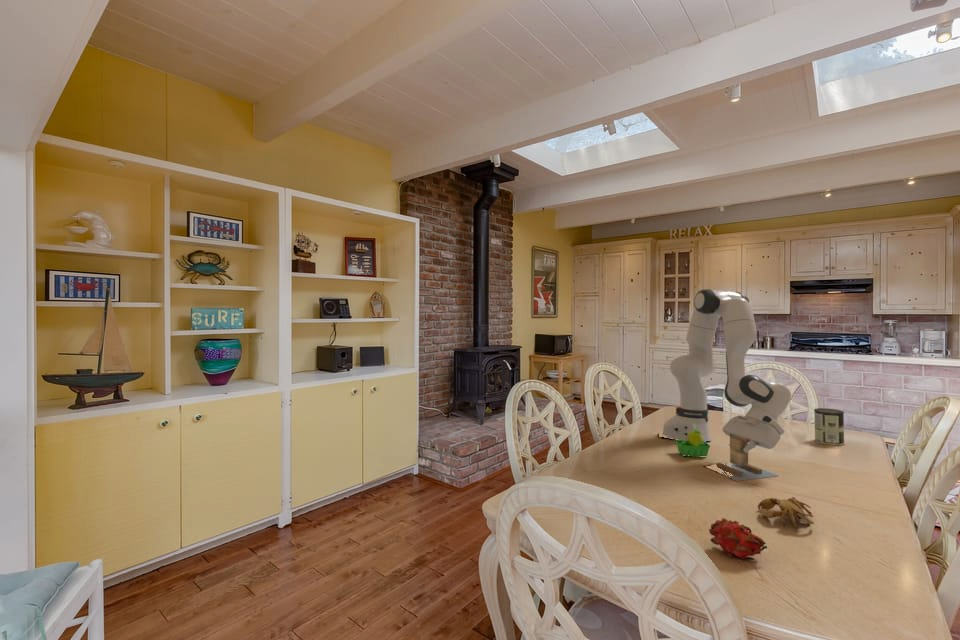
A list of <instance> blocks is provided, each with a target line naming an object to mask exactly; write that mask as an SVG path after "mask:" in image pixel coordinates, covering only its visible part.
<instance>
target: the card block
mask: <svg viewBox="0 0 960 640" xmlns="http://www.w3.org/2000/svg"><path fill="white" fill-rule="evenodd" d="M729 444H730V446H729V456H730V457H729V458H730V460H729V462H730V463H732V464H735V465H737V466H745V465H748V464H749V452H748V453H745V452H743V451H742V450H741V448H742V447H743V446H746V445H748V444H749V443H748V439H747V437H743V436H740V435H731V436H729Z"/></svg>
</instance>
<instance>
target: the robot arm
mask: <svg viewBox="0 0 960 640" xmlns="http://www.w3.org/2000/svg"><path fill="white" fill-rule="evenodd" d="M693 306H694V309H693V311H692V315H691V318H690V321H689V325H688V330H687V334H686V338H685V341H686V342H687V344H688V354H685V355H684V354H683V355H680V356H677V357H676V358H673V359H672V361H671V362H670V365H669V368H670V370H669V371H670V372H671V374H672V375H673V376H674V378H675V379H676V381H677V384H678V387H679V388H678V389H679V397H680V398H679V401H680V402H679V403H680V406H679V405H677V406H676V407H675V415H673V416H672V417H670V418H669V419H667V420H666V421H665V422H664V424H663V426H662V430H663V433H662V434H663V435H665V436H667V437H668V438H673V439H678V440H688V438H687V436H688V434H689V433H690V432H692V431H694V430H698V431H699V432H700V435H701V437H702V441H704V442H706V441H710V440H711V441H712V436H711V434H710V428H709V423H708V422H709V420H710V419H709V416H710V415H709V409H708V394H707V391H706V389H705V388H704V386H703V384H702V381H701V380H702V379H701V378H705V377H707V376H710V375H711V374H713V373H714V372H715V370H716V366H717V364H716V361H715V359H714V355H713V347H714V341H715V335H716V332H717V327H718V324H719V323H718V322H719V320H720V318H721V317H722V327H723V333H724V340H725V361H726V363H725V364H726V377H727V380H726V384H725V387H724V392H723V393H724V397H725V399H726V400H727V402H729V404H731V405H733V406H735V407H741V408H742V407H743V408H744V407H746V406H748V405H751V407H750V409H748V411H747V413H746V414H745V415H744V416H742V415H735V416H733V417H732V418H730V419H729V420H728V421H727V422H726V423H725V424H724V426H722V432H723V433H724V434H725V435H726V436H727V437H730V436H731V435H740V436H743V437H747V439H748V445H746V446H743V447H742V448H741V450H742V451H743V452H745V453H748V454H749V451H750V450H752V449H754V448H756V447H757V446H759V447H761V448H764V449H767V450H771V449H774V448H775V447H776V445H778V443H779V441H780V440H781V438H782V437H781V435H784V434H785V429H783V427H782V426H781V425H780V424H779V422H777V421H778V417H780V415H782V414H783V413H784V412H785V410H786V409H787V408H788V405H789V403H790V401H791V399H792V393H791V391H790V389H789V388H788V387H787V386H786V385H784V384H783V383H781V382H777V381H768V380H765V379H763V378H762V377H759V376H758V375H754V374H746V368H745V358H746V355H747V353H748V351H749V349H750V348H751V346H752V345H753V344H754V343H755V341H756V339H757V325H756V320H755V316H754V313H753V309H752V306H751V304H750V300H749V297H748V296H747V295H746V294H744V293H742V292H738V291H732V290H725V289H721V290H720V289H709V288H708V289H707V288H706V289H701V290H699V291H698V292H697V293H696V294H695V296H694V298H693ZM688 441H689V440H688ZM711 441H710V442H711ZM706 443H707V442H706ZM728 446H729V447H730V443H729V444H728Z"/></svg>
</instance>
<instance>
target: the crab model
mask: <svg viewBox="0 0 960 640" xmlns="http://www.w3.org/2000/svg"><path fill="white" fill-rule="evenodd" d="M775 506H778V507H779V509H780V510H772V509H773V508H775ZM808 508H809V509H812V507H811V506H809V505H808V504H807V503H805V502H802V501H800V500H799V499H797V498H796V497H795V496H792V497H790V498H788V499H785V498H784V499H778V498H776V497H770V498H769V497H768V498H765V499H764V498H763V499H762V500H761V501H760V502H759V503H758V504H757V510H759V513H760V514H761V515H762V516H763V517H764V518H767V519H773V518H780V517H781V518H780V520H781V523H782V524H783V525H784V526H786V519H787V516H790V517H789V518H790V521H791V523H792V524H793V526H794V528H797V523H796V522H797V521H799V520H802V519H803V521H806V522H807V524H808V525H809V526H811V525H815V522H814V521H813V520H810V519H809V517H810V518H813V517H814V515H813V513H812V511H810V510H809V509H808ZM781 509H782V510H781Z"/></svg>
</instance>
